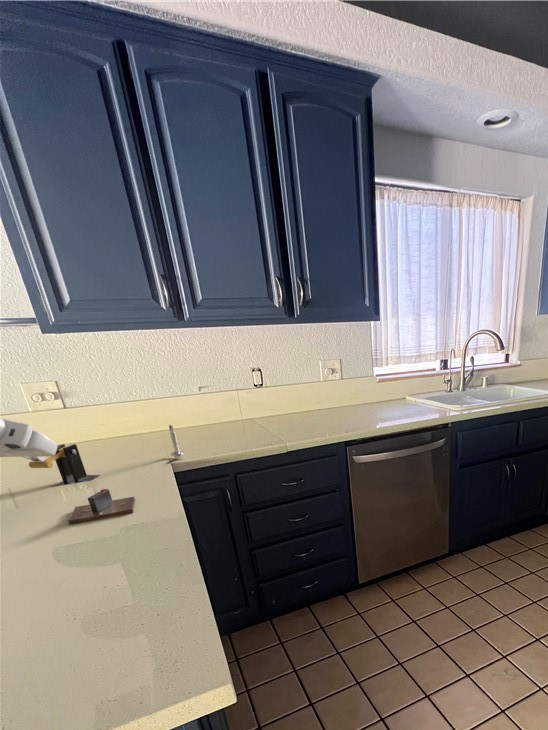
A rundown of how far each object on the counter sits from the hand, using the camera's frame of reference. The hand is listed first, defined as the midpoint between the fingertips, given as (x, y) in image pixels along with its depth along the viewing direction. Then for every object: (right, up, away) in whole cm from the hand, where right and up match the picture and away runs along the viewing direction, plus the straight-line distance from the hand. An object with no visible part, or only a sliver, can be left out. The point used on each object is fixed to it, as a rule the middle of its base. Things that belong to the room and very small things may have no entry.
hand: (40, 459), depth 126 cm
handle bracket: (+1, -6, +13) cm, 15 cm away
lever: (0, 0, +6) cm, 5 cm away
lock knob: (+28, -14, -14) cm, 34 cm away
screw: (+24, +5, +36) cm, 43 cm away
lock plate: (+28, -17, -13) cm, 35 cm away
